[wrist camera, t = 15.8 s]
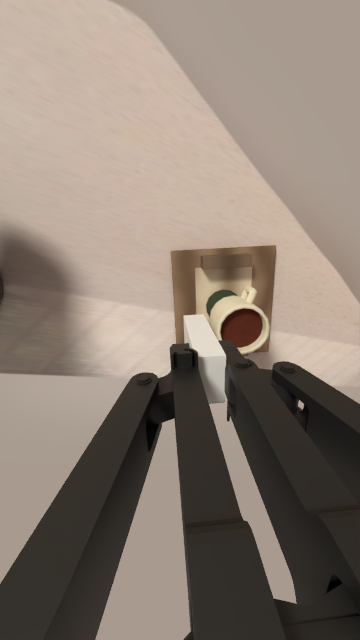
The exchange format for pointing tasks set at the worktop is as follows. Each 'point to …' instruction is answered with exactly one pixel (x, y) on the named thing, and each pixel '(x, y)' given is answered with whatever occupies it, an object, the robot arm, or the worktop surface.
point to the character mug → (238, 319)
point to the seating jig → (220, 280)
